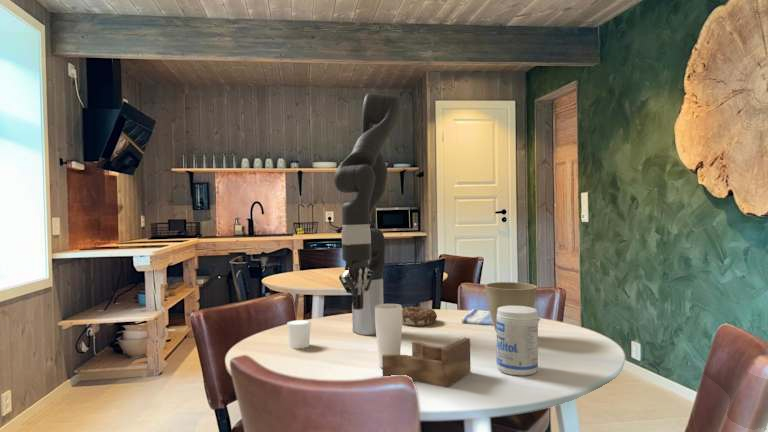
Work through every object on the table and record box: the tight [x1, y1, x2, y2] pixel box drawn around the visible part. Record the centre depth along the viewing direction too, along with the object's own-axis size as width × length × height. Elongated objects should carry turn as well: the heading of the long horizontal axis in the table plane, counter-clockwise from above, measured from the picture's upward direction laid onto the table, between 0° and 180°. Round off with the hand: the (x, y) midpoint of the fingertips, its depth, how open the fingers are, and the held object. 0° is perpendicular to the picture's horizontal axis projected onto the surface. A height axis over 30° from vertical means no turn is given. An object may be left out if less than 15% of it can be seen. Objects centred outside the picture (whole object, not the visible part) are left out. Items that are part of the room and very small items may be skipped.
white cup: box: [286, 319, 312, 350], centre depth 143 cm, size 7×7×7 cm
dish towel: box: [461, 308, 494, 327], centre depth 172 cm, size 17×24×3 cm
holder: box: [382, 337, 471, 388], centre depth 116 cm, size 16×16×8 cm
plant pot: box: [484, 281, 538, 334], centre depth 147 cm, size 15×15×16 cm
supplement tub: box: [496, 306, 539, 377], centre depth 117 cm, size 10×10×15 cm
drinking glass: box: [375, 303, 403, 369], centre depth 122 cm, size 7×7×15 cm
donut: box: [402, 306, 438, 327], centre depth 171 cm, size 14×14×5 cm
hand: (358, 309), depth 127 cm, fingers closed
